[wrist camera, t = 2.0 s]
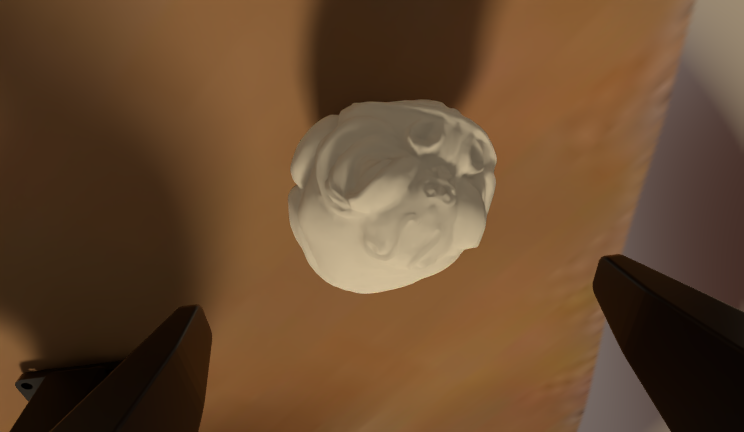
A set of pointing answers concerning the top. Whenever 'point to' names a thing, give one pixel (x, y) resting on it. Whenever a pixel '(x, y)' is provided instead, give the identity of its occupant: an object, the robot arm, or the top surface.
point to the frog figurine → (390, 192)
